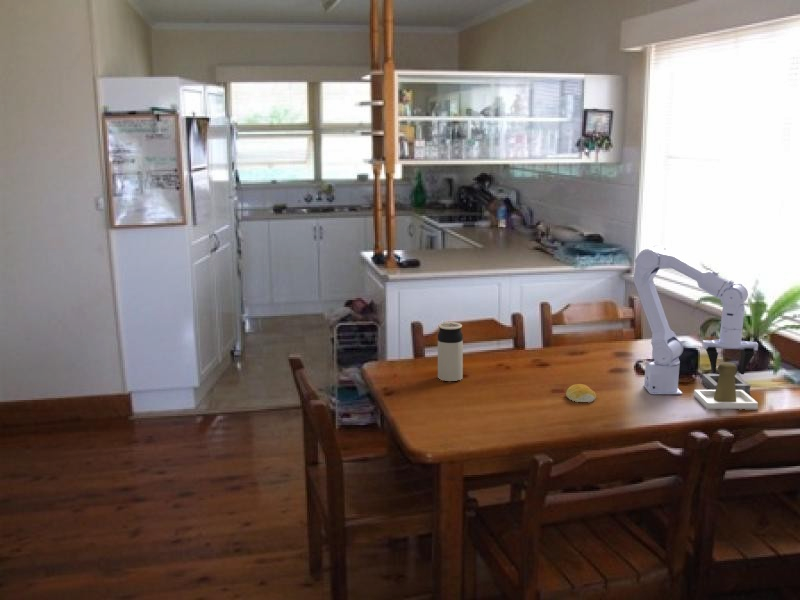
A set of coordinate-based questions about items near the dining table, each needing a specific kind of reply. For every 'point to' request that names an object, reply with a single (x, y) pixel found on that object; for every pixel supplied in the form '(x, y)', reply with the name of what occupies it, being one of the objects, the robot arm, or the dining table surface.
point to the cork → (726, 383)
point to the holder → (712, 381)
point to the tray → (710, 404)
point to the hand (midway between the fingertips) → (727, 372)
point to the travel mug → (450, 351)
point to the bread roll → (580, 393)
